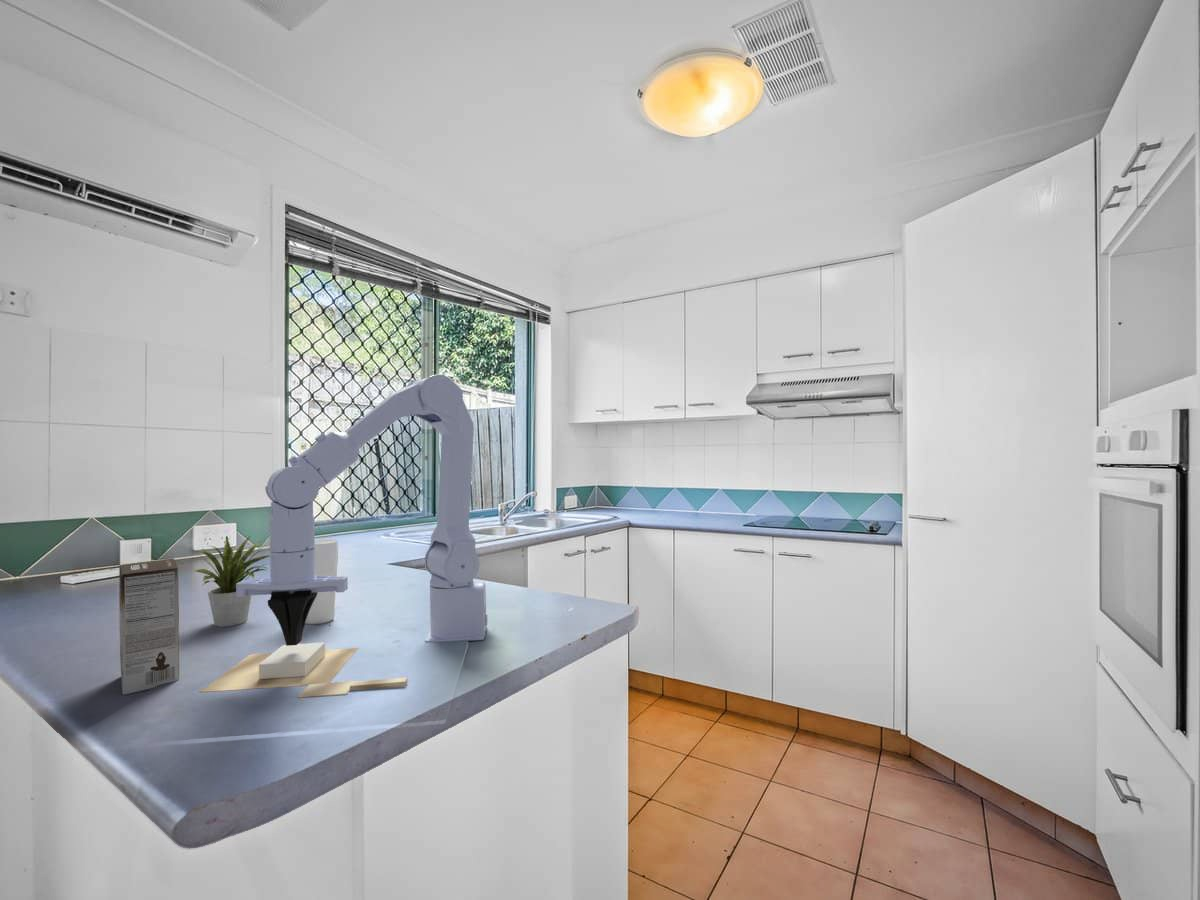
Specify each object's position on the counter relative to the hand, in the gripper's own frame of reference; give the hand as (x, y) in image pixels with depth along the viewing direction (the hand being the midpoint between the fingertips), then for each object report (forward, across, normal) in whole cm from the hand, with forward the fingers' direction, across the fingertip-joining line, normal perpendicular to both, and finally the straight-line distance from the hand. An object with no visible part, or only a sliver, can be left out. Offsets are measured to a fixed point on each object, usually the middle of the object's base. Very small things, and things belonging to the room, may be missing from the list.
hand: (293, 643), depth 82 cm
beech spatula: (+4, -11, +9) cm, 15 cm away
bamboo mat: (+4, +1, 0) cm, 4 cm away
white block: (+2, -3, 0) cm, 4 cm away
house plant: (+4, +21, -26) cm, 34 cm away
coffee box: (+4, +19, 0) cm, 19 cm away
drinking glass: (+4, +5, -25) cm, 26 cm away
